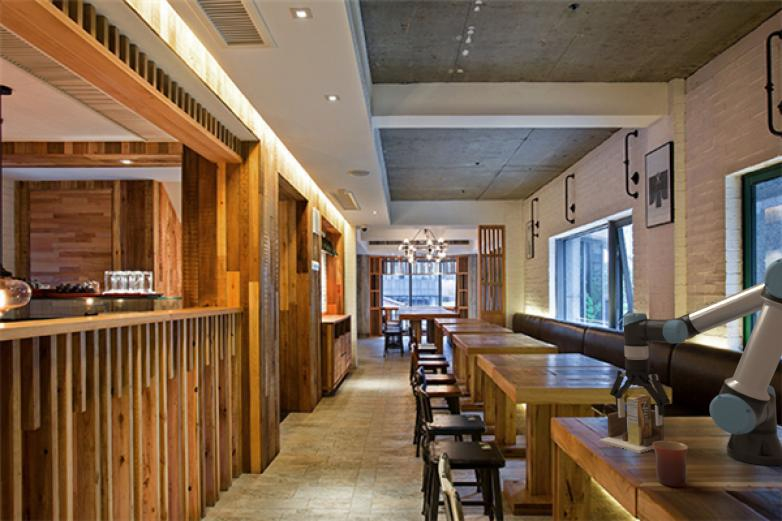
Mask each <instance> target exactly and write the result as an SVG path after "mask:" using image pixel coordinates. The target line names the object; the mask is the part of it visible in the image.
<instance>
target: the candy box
mask: <svg viewBox="0 0 782 521" xmlns="http://www.w3.org/2000/svg"><path fill="white" fill-rule="evenodd" d="M651 398H652V397H651V395H647V394H641V393H640V394H636V395H633V396H630V397H629V396H628V397H627V398H626V407H627V408H626V409H627V410H626V411H627V427H628V443H630V444H635V445H642V444H643V438H647V437H650V436H652V427H651V410H652V400H651Z"/></svg>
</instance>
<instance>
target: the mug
mask: <svg viewBox="0 0 782 521" xmlns="http://www.w3.org/2000/svg"><path fill="white" fill-rule="evenodd" d="M652 444H653V447H654V449H653V451H654V453H655V473H656V478H657V481H658V482H659V483H660V484H662V485H664V486H667V487H670V488H671V487H672V488H679V487H680V488H681V487H684V486H685V485H687V480H688V479H687V478H688V475H687V474H688V473H687V461H686V460H687V454H688V451H689V446H688V445H686V444H684V443H681V442H678V441H673V440H672V441H671V440H664V441H655V442H653V443H652Z"/></svg>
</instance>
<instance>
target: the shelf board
mask: <svg viewBox="0 0 782 521" xmlns="http://www.w3.org/2000/svg"><path fill="white" fill-rule="evenodd" d="M599 443H601V444H605V445H607V446H608V445H609V446H610V447H611V446H612V447H614V446H615V448H618V447H620V448H619V449H622V448H624V449H623V450H625V449H627V450H626V451H629V450H630V451H629V452H633V453H637V454H642V452H643V453H646V452H649V451H652V450H654V447H653V445H651V446H648V447H644V446H643V444H642V445H635V444H630V443H628V441H626V442H625V441H623V435H619V436H615V437H612V438H610V437H608V436H607V437H604V438H601V439H599ZM651 449H652V450H651ZM648 450H649V451H648ZM645 451H646V452H645Z"/></svg>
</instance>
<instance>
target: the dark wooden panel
mask: <svg viewBox="0 0 782 521" xmlns="http://www.w3.org/2000/svg"><path fill="white" fill-rule="evenodd" d="M607 432H608V433H607V437H610V438H612V437H615V436H619V435H623V433H626V432H628V416H627V410H626V409H625V417H622V418H619V417H618V411H615V412H612V413H607Z"/></svg>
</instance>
